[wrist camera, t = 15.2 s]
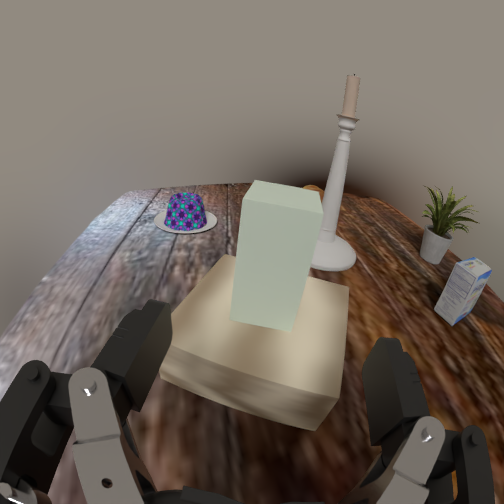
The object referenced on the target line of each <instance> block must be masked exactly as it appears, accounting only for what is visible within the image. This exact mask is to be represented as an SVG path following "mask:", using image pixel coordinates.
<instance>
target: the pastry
mask: <svg viewBox="0 0 504 504" xmlns="http://www.w3.org/2000/svg"><path fill="white" fill-rule="evenodd" d="M302 189H307V190H312V191H317V192H319V195H320V200H321V204H322V200H323V197H324V192H323V191H322V190H321V189H319V188H318V187H316V186H314V185H309V186H305V187H303V188H302Z"/></svg>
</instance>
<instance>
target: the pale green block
mask: <svg viewBox="0 0 504 504" xmlns="http://www.w3.org/2000/svg"><path fill="white" fill-rule="evenodd" d="M323 215H324V213H323V208H322V204H321V200H320V195H319V192H317V191H312V190H307V189H302V188H297V187H292V186H286V185H281V184H275V183H270V182H264V181H258V180H255V181H254V183H253V184H252V186H251V187H250V189H249V190H248V192H247V193H246V195H245V196H244V198H243V202H242V210H241V219H240V227H239V236H238V245H237V254H236V263H235V272H234V281H233V290H232V300H231V310H230V319H229V320H232V321H237V322H242V323H247V324H252V325H257V326H262V327H267V328H272V329H278V330H283V331H289V332H291V331H292V328H293V324H294V321H295V318H296V315H297V311H298V308H299V305H300V301H301V298H302V294H303V291H304V288H305V284H306V280H307V277H308V273H309V270H310V266H311V262H312V259H313V255H314V251H315V247H316V243H317V239H318V235H319V231H320V227H321V223H322V219H323Z"/></svg>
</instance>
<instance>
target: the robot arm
mask: <svg viewBox="0 0 504 504" xmlns="http://www.w3.org/2000/svg"><path fill="white" fill-rule="evenodd" d="M172 336H173V330H172V320H171V310H170V305H169V303H165V302H161V301H157V300H152V299H150V300H148V301H147V303H146V304H145V306H144V307H143V309H142V310H137V309H135V310H133V311H132V312H130V313H129V314H127V315H126V316H125V317H124V318H123V319H122V321H121V322H120V324H119V325H118V328H116V330H115V331H114V332H113V335H112V336H111V337H110V338H109V340H108V341H107V343H106V344H105V346H104V347H103V349H102V350H101V352H100V353H99V355H98V357H97V358H96V360H95V361H94V363H93V364H92V365H91V367H88V368H82V369H80V370H78V371H76V372H75V373H74V374H64V373H56V372H51V371H50V369H49V368H48V366H47V365H46V364H45V363H44V362H42V361H39V360H33V361H29V362H27V363H26V364H24V365H23V366H22V368H21V369H20V371H19V372H18V374H17V375H16V377H15V378H14V380H13V382H12V383H11V385H10V387H9V388H8V390H7V391H6V393H5V395H4V397H3V398H2V400H1V402H0V504H52V502H51V500H50V498H49V497H48V496H47V495H48V492H49V489H50V486H51V483H52V480H53V478H54V475H55V472H56V470H57V467H58V464H59V462H60V459H61V457H62V454H63V452H64V449H65V447H66V445H67V442H68V440H69V438H70V435H71V433H72V431H73V428H75V433H76V442H74V443H73V446H72V449H73V455H74V460H75V464H76V468H77V471H78V475H79V478H80V482H81V485H82V488H83V491H84V494H85V497H86V500H87V503H88V504H244V503H241V502H238V501H236V500H233V499H230V498H228V497H225V496H223V495H221V494H218V493H213V492H208V491H203V490H199V489H195V488H191V487H187V486H183V490H165V491H159V492H158V491H157V489H156V487H155V485H154V483H153V480H152V478H151V476H150V474H149V472H148V470H147V468H146V466H145V465H144V463H143V461H142V458H141V456H140V453H139V451H138V448H137V445H136V443H135V440H134V437H133V434H132V431H131V428H130V425H129V422H128V419H127V416H128V414H129V412H130V410H131V409H132V410H135V411H137V412H140V411H141V409H142V406H143V404H144V402H145V400H146V397H147V395H148V393H149V391H150V388H151V386H152V384H153V382H154V380H155V377H156V375H157V373H158V371H159V369H160V367H161V364H162V362H163V360H164V358H165V356H166V354H167V351H168V349H169V347H170V345H171V341H172ZM417 373H418V372H417V369H416V365H415V362H414V361H413V359H412V358H411V357H410V355H409V354H408V353H407V352H403V349H402V346H401V343H400V341H399V339H397V338H384V337H380V338H379V339H378V340H377V342H376V343H375V345H374V347H373V349H372V350H371V352H370V354H369V355H368V357H367V359H366V360H365V362H364V365H363V369H362V379H363V386H364V392H365V399H366V406H367V414H368V422H369V431H370V440H371V446H380V445H381V447H382V451H381V452H380V453H379V454H378V455H377V457H376V458H375V460H374V461H373V463H372V464H371V466H370V467H369V469H368V470H367V472H366V473H365V474H364V476H363V477H362V478H361V480H360V481H359V483H358V484H357V485H356V486H355V488H354V489H353V490H352V491H351V492H350V493H348V494H347V495H346V496H345V497H344V498H343V499H342V500H341V501H340V502H339V503H338V504H495V496H494V486H493V478H492V470H491V464H490V458H489V453H488V448H487V443H486V439H485V435H484V433H483V431H482V430H481V429H480V428H479V427H477V426H475V425H470V426H468V427H466V428H465V429H464V430H463V431H461V432H456V431H451V430H446V429H444V427H443V425H442V423H441V422H440V421H439V420H438V419H436V418H434V417H431V416H430V413H429V409H428V405H427V402H426V398H425V395H424V391H423V388H422V384H421V383H420V378H419V375H417ZM455 470H456V477H457V487H458V495H457V498H456V499H455V501H454V498H453V484H452V474H451V472H453V471H455ZM109 487H110V488H109ZM324 503H325V502H288V503H282V504H324Z"/></svg>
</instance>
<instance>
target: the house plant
mask: <svg viewBox="0 0 504 504" xmlns="http://www.w3.org/2000/svg"><path fill="white" fill-rule="evenodd" d="M428 189H429V190H430V191H431V193H432V195H433V197H434V200H433V198H432V196H431V198H432V201H433V203H434V201H435V203H434V207H435V205H436V207H435V211H434V209H433V207H432V206H431V205H429V204H426V206H427V207H428V208H429V209H430V210H431V212H432V214H433V215H431V214H430V213H429V212H428V211H426V210H425V211H424V212H423V213H425V214H430V215H431V216H432V218H431V219H432V221H433V225H425V230H424V235H423V240H422V245H421V249H420V256H421V257H422V258H423V259H424V260H426V261H428V262H430V263H433V264H439V262H440V261H441V259H442V258H443V256H444V254H445V253H446V251H447V249H448V248H449V246H450V244H451V242H452V241H453V237H452V236H451V235H450V234H449V233H448V232H447V231H448V230H449V229H451V228H452V230H453V232H454V231H455V228H459V229H462V230H464V231H466V230H465V229H464V228H463V227H465V228H466V226H465V225H463V224H460V223H456V222H457V221H472V222H475V223H478V222H476V221H474V220H472V219H469V218H466V217H462V216H456V215H457V214H459V213H460V212H462V211H464V210H466V209H467V208H468V207H472V205H471V206H470V205H469V206H465V207H463V208H461V209H459V210H457V211H456V212H454V213H453V214H452V215H451V216H450V217H449V218H448V216H449V214H451V211H452V210H453V209H454V207H455V206H456V205H457V204H458V203H459V202H460V201H461V200H463V199H464V198H465V197H466V196H465V197H462V198H460V199H459V200H458V201H454V198H455V194H453V195H452V196H451V194H452V189H453V187H452V188H451V190H450V192H449V195H448V198H447V201H446V204H444V206H443V204H442V203H443V196H442V201H441V198H440V195H439V193H438V192H437V190H436V192H437V198H436V196H435V194H434V191H432V190H431V189H430V188H428ZM429 193H430V192H429ZM431 193H430V195H431ZM441 195H442V193H441ZM437 199H438V201H437ZM474 211H475V210H474ZM469 213H470V212H469ZM424 216H425V217H429V216H427V215H424ZM455 216H456V217H455ZM454 223H456V224H454ZM453 224H454V225H453ZM455 225H462V227H459V226H455ZM447 228H448V229H447ZM466 232H467V231H466Z"/></svg>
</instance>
